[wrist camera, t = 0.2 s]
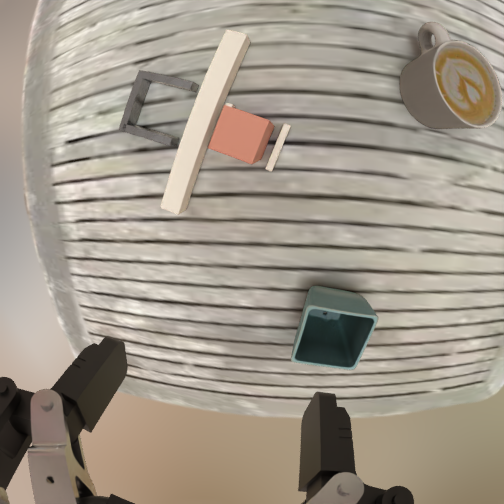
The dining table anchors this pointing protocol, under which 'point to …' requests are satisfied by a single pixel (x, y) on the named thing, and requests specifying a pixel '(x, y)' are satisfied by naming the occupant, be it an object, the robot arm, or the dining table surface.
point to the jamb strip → (208, 122)
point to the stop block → (241, 135)
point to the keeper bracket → (137, 101)
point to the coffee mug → (450, 83)
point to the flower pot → (333, 329)
